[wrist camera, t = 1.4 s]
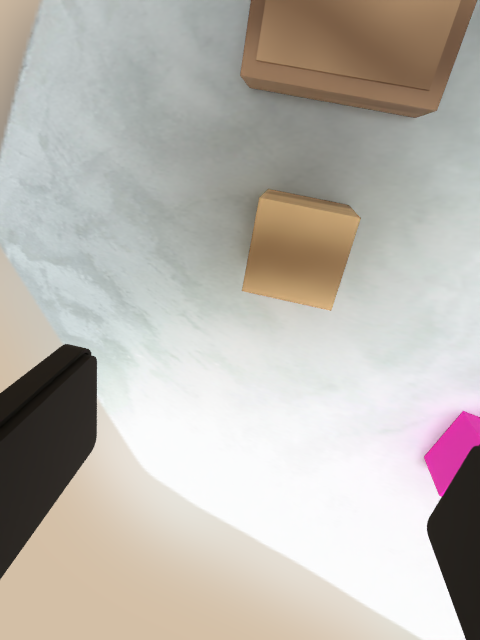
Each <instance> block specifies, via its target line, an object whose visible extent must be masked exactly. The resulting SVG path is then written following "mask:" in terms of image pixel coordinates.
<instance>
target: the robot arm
mask: <svg viewBox="0 0 480 640" xmlns="http://www.w3.org/2000/svg"><path fill="white" fill-rule="evenodd" d="M96 434H97V359H96V357H94V356H91V352H90V350H89V349H86V348H82V347H78V346H73V345H69V344H65V345H63V346H61V347H60V348H59V349H57V350H56V351H55V352H53V353H52V354H51V355H50V356H48V357H47V358H46V359H44V360H43V361H42V362H41V363H39V364H38V365H37V366H35V367H34V368H33V369H31V370H30V371H29V372H27V373H26V374H25V375H24V376H22V377H21V378H20V379H18V380H17V381H16V382H15V383H13V384H12V385H11V386H9V387H8V388H7V389H5V390H4V391H3V392H1V393H0V579H1V578H2V576H3V575H4V573H5V572H6V570H7V569H8V568H9V566H10V565H11V564H12V562H13V561H14V559H15V558H16V557H17V555H18V554H19V552H20V551H21V550H22V548H23V547H24V545H25V544H26V542H27V541H28V540H29V538H30V537H31V535H32V534H33V533H34V531H35V530H36V528H37V527H38V526H39V524H40V523H41V521H42V520H43V519H44V517H45V516H46V514H47V513H48V512H49V510H50V509H51V507H52V506H53V504H54V503H55V502H56V500H57V499H58V498H59V496H60V495H61V493H62V492H63V491H64V489H65V488H66V486H67V485H68V484H69V482H70V481H71V479H72V478H73V476H74V475H75V474H76V472H77V471H78V470H79V468H80V467H81V465H82V464H83V463H84V461H85V460H86V458H87V457H88V456H89V454H90V453H91V451H92V450H93V447H94V445H95V442H96V436H97V435H96ZM427 532H428V536H429V539H430V542H431V545H432V547H433V550H434V553H435V556H436V558H437V561H438V564H439V567H440V569H441V572H442V575H443V578H444V580H445V583H446V586H447V589H448V591H449V594H450V597H451V600H452V602H453V605H454V608H455V611H456V613H457V616H458V619H459V622H460V624H461V627H462V630H463V633H464V635H465V638H466V640H480V445H479V446H474V447H472V449H471V450H470V451H469V453H468V455H467V456H466V458H465V460H464V461H463V463H462V465H461V466H460V468H459V470H458V471H457V473H456V475H455V476H454V478H453V480H452V481H451V483H450V484H449V486H448V488H447V489H446V491H445V493H444V494H443V496H442V498H441V499H440V501H439V503H438V504H437V506H436V508H435V509H434V511H433V513H432V514H431V516H430V517H429V520H428V523H427Z"/></svg>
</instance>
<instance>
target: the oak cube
mask: <svg viewBox="0 0 480 640" xmlns="http://www.w3.org/2000/svg"><path fill="white" fill-rule="evenodd" d="M360 219H361V218H360V217H359V216H358V215H357V214H356V212H355V211H354V210H353V209H352V208H351V207H350V206H349V205H345V204H340V203H335V202H330V201H326V200H321V199H316V198H311V197H306V196H301V195H296V194H291V193H286V192H281V191H276V190H271V189H268V190H267V191H266V192H265V193H264V194H262V195H261V196H260V197H259V202H258V208H257V213H256V218H255V224H254V229H253V234H252V240H251V245H250V250H249V256H248V261H247V266H246V272H245V277H244V282H243V288H242V291H245V292H249V293H254V294H258V295H263V296H267V297H272V298H276V299H281V300H285V301H290V302H294V303H299V304H303V305H308V306H312V307H317V308H321V309H326V310H330V311H331V310H332V307H333V303H334V300H335V297H336V294H337V291H338V288H339V285H340V282H341V278H342V275H343V272H344V269H345V266H346V263H347V260H348V257H349V253H350V250H351V247H352V244H353V241H354V238H355V235H356V231H357V228H358V225H359V222H360Z"/></svg>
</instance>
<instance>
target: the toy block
mask: <svg viewBox="0 0 480 640" xmlns="http://www.w3.org/2000/svg"><path fill="white" fill-rule="evenodd" d="M479 445H480V417H478V416H475V415H472V414H470V413H467V412H465V411H463V412H462V413H461V414H460V415H459V416H458V418H457V419H456V420H455V421H454V422H453V423H452V425H451V426H450V427H449V428H448V429H447V431H446V432H445V433H444V434H443V435H442V436H441V438H440V439H439V440H438V441H437V442H436V443H435V445H434V446H433V447H432V448H431V449H430V450H429V452H428V453H427V454H426V455H425V456H424V459H425V461H426V464H427V466H428V469H429V471H430V474H431V476H432V479H433V481H434V484H435V486H436V489H437V491H438V494H439V496H443V494H444V493H445V491H446V489H447V488H448V486H449V484H450V483H451V481H452V480H453V478H454V476H455V475H456V473H457V471H458V470H459V468H460V466H461V465H462V463H463V461H464V460H465V458H466V456H467V455H468V453H469V451H470V450H471V449H472V447H474V446H479Z"/></svg>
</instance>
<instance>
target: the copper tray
mask: <svg viewBox="0 0 480 640" xmlns="http://www.w3.org/2000/svg"><path fill="white" fill-rule="evenodd" d="M476 2H477V0H251V4H250V11H249V18H248V25H247V32H246V39H245V46H244V53H243V60H242V67H241V74H240V76H241V77H242V78H243V80H244V81H245V82H246V84H247V85H248V86H249V87H250V88H254V89H259V90H265V91H270V92H276V93H281V94H287V95H292V96H298V97H304V98H309V99H315V100H320V101H326V102H331V103H337V104H342V105H348V106H353V107H359V108H365V109H370V110H376V111H381V112H387V113H392V114H398V115H403V116H409V117H414V118H416V117H419V116H422V115H425V114H428V113H431V112H434V111H437V109H438V106H439V103H440V101H441V98H442V95H443V92H444V90H445V87H446V84H447V81H448V79H449V76H450V73H451V71H452V68H453V65H454V62H455V60H456V57H457V54H458V51H459V49H460V46H461V43H462V40H463V38H464V35H465V32H466V30H467V27H468V24H469V21H470V19H471V16H472V13H473V10H474V8H475V5H476Z"/></svg>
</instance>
